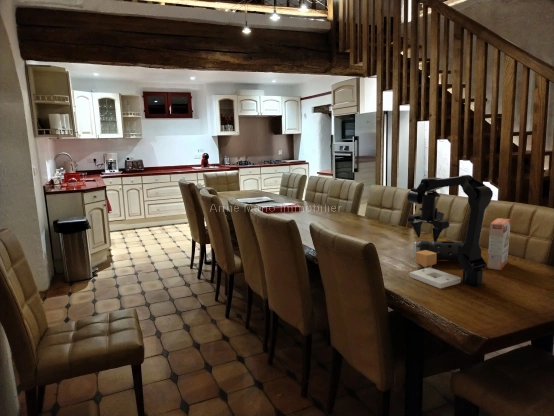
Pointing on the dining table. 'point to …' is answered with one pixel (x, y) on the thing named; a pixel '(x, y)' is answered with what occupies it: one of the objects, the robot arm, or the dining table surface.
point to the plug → (425, 258)
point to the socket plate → (439, 281)
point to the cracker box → (498, 243)
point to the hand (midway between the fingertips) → (426, 239)
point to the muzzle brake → (439, 249)
